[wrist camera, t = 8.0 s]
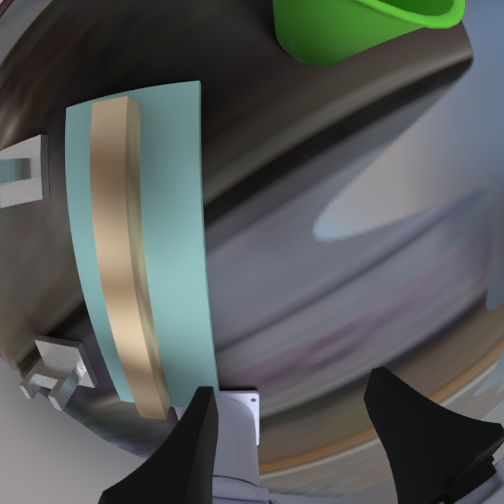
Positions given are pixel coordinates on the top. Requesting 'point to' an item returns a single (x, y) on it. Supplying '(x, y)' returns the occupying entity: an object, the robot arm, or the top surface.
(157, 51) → the top surface
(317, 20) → the cup
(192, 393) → the mat
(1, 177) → the hook stand
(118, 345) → the rail
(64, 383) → the hook stand
